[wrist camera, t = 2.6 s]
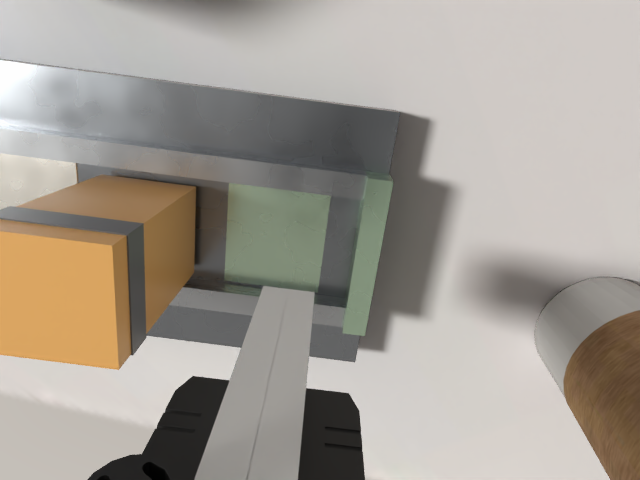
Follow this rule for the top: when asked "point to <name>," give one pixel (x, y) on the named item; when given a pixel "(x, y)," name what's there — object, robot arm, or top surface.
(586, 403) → the coffee cup
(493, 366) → the top surface
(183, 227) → the handle
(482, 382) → the top surface
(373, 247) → the grey sliding tray
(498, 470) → the top surface
